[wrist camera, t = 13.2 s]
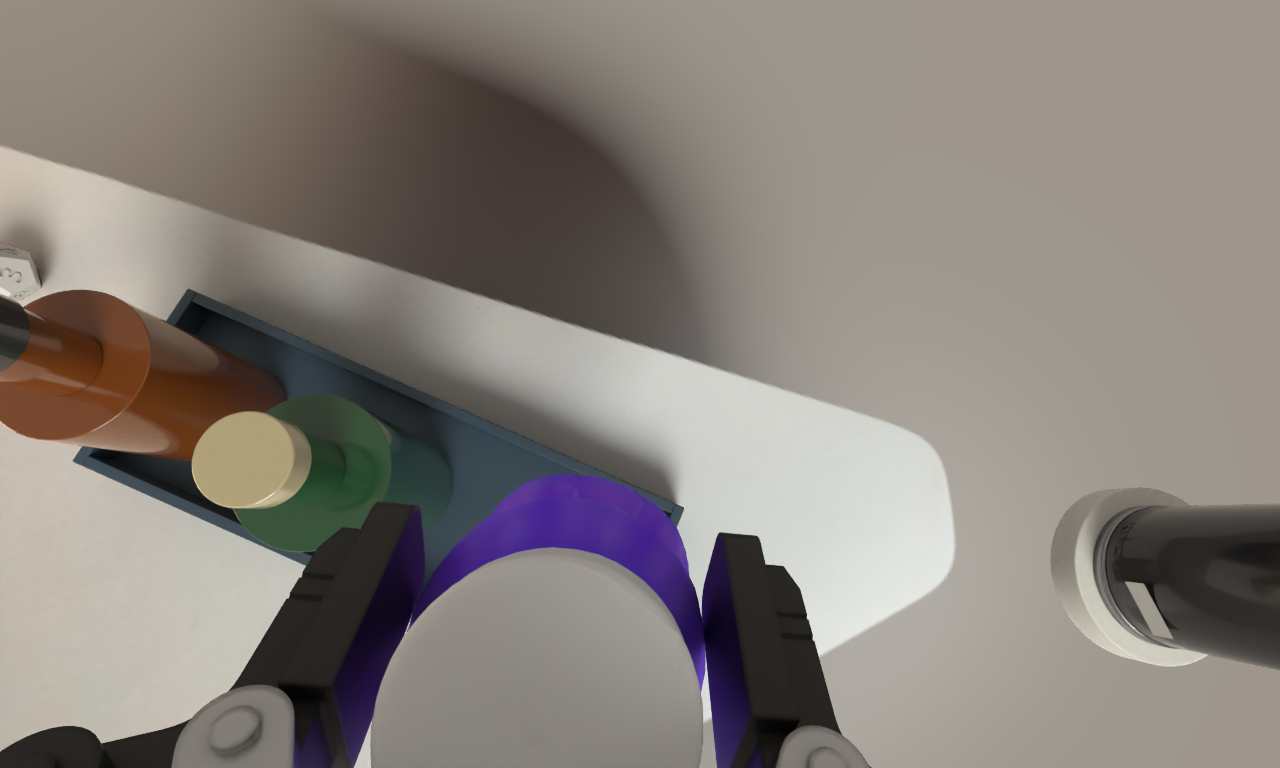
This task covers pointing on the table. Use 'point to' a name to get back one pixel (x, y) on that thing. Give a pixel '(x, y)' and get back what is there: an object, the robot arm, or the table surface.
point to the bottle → (551, 641)
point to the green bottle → (317, 470)
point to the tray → (471, 445)
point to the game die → (17, 273)
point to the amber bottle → (118, 377)
